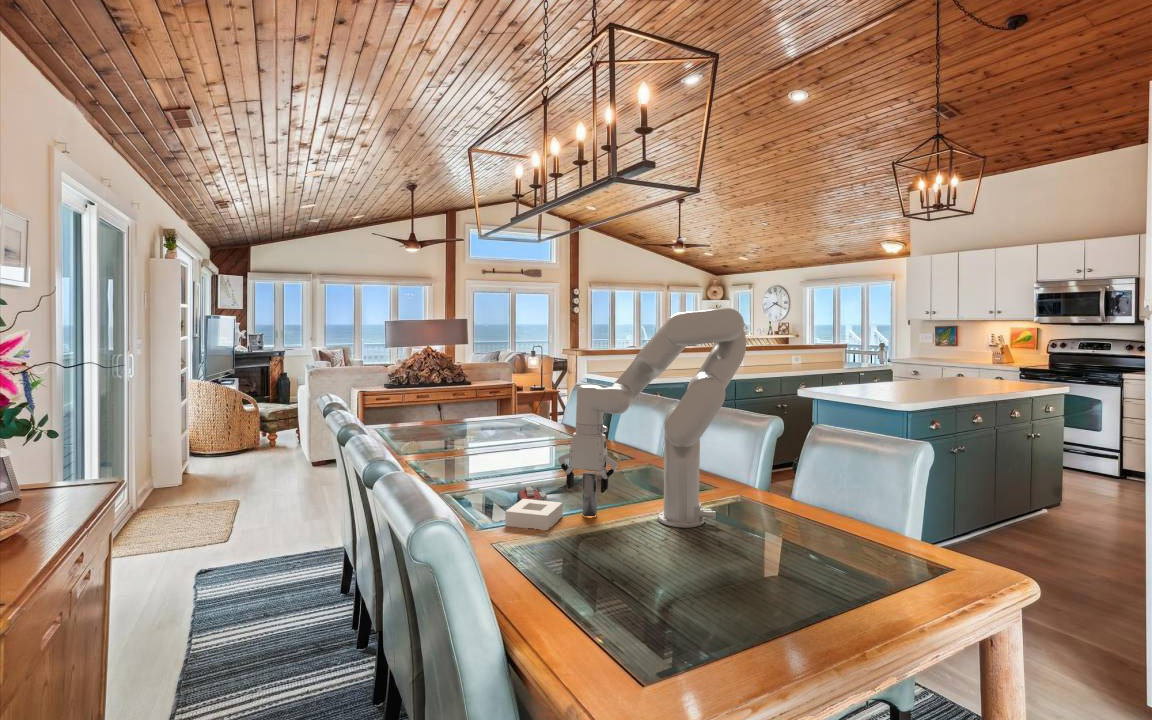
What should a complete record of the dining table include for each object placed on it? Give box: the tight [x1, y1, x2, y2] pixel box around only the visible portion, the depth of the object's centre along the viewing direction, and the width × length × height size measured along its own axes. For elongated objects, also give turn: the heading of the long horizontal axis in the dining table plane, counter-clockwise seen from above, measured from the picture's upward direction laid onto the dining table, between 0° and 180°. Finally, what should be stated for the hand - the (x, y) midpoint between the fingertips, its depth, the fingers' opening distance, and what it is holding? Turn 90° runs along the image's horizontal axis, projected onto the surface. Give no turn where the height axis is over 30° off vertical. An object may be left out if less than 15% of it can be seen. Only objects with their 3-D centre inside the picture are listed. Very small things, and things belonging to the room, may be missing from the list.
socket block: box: [504, 499, 564, 531], centre depth 163 cm, size 12×12×4 cm
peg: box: [582, 471, 598, 516], centre depth 168 cm, size 4×4×12 cm
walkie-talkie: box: [516, 486, 548, 503], centre depth 183 cm, size 9×4×20 cm
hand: (586, 489), depth 168 cm, fingers open, 9 cm apart
